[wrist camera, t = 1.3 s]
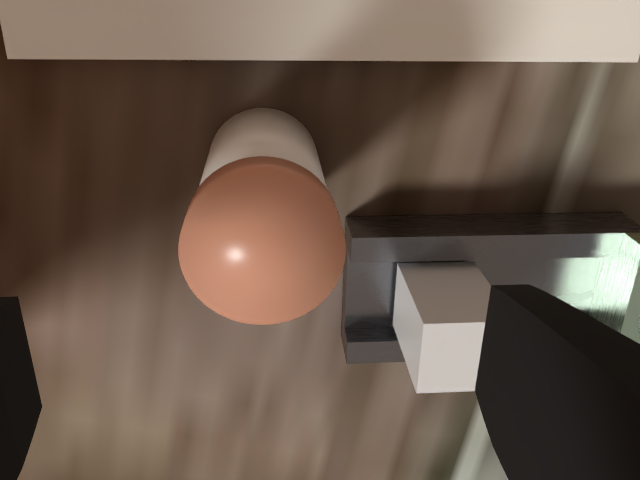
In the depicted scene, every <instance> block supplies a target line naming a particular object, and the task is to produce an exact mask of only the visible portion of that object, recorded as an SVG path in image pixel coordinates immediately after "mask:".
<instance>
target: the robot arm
mask: <svg viewBox="0 0 640 480" xmlns="http://www.w3.org/2000/svg"><path fill="white" fill-rule="evenodd" d="M475 392H476V395H477V399H478V402H479V405H480V409H481V412H482V415H483V418H484V421H485V424H486V427H487V430H488V433H489V436H490V439H491V442H492V445H493V447H494V450H495V452H496V454H497V456H498V458H499V461H500V463H501V465H502V467H503V469H504V471H505V473H506V475H507V477H508V479H509V480H640V344H639V343H637V342H636V341H634V340H632V339H630V338H628V337H627V336H625V335H623V334H621V333H619V332H618V331H616V330H614V329H612V328H610V327H609V326H607V325H605V324H603V323H602V322H600V321H598V320H596V319H595V318H593V317H591V316H589V315H587V314H586V313H584V312H582V311H580V310H579V309H577V308H575V307H573V306H571V305H570V304H568V303H566V302H564V301H562V300H560V299H559V298H557V297H555V296H553V295H551V294H549V293H547V292H545V291H543V290H541V289H539V288H536V287H534V286H532V285H529V284H518V285H491V290H490V296H489V302H488V309H487V315H486V321H485V328H484V334H483V341H482V347H481V353H480V360H479V366H478V373H477V379H476V385H475ZM41 408H42V404H41V399H40V395H39V390H38V386H37V381H36V377H35V372H34V368H33V363H32V358H31V354H30V349H29V345H28V340H27V336H26V331H25V327H24V322H23V318H22V313H21V308H20V304H19V299H18V297H0V480H17V478H18V476H19V474H20V472H21V469H22V467H23V464H24V461H25V458H26V456H27V453H28V450H29V447H30V444H31V441H32V438H33V435H34V431H35V428H36V425H37V421H38V418H39V415H40V412H41Z"/></svg>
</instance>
